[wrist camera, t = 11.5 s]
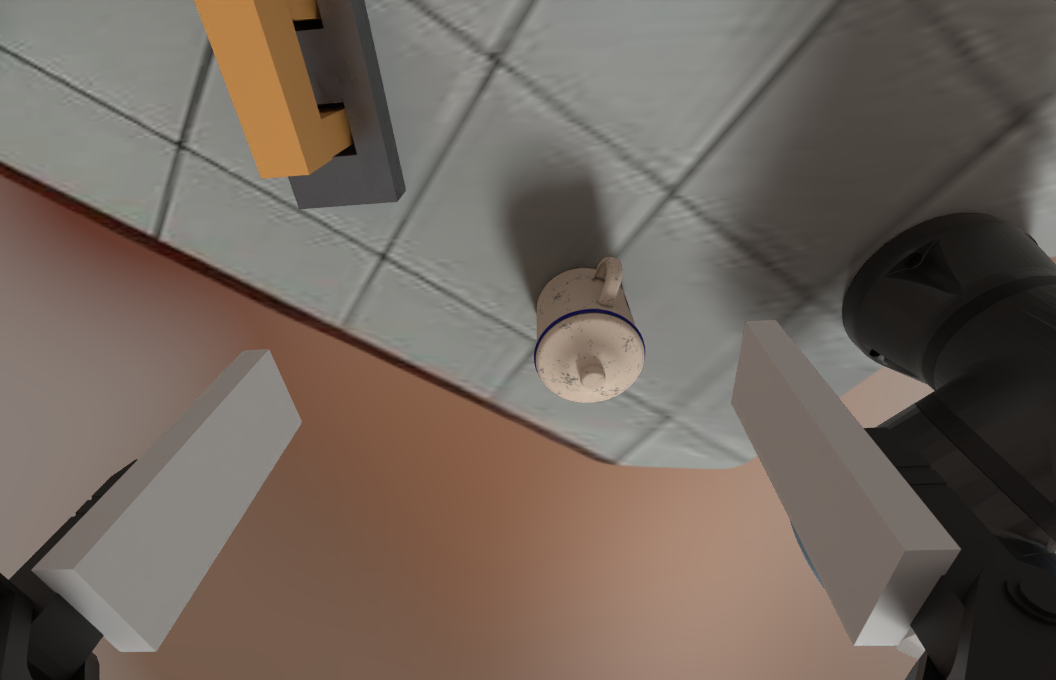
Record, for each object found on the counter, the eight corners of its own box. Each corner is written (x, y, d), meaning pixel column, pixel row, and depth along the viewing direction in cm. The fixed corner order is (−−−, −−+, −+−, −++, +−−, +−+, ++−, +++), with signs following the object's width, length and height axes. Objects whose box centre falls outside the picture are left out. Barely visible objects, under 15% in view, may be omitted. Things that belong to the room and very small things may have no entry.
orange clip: (363, 138, 38) (309, 174, 29) (326, 141, 38) (261, 178, 29) (322, -25, 32) (239, -44, 23) (279, -20, 33) (179, -38, 23)
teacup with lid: (609, 354, 49) (627, 434, 40) (523, 334, 48) (521, 412, 38) (655, 248, 43) (690, 314, 33) (558, 223, 42) (565, 283, 32)
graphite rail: (339, -114, 30) (321, -127, 27) (405, 190, 40) (397, 201, 38) (216, -100, 30) (187, -112, 28) (313, 197, 41) (299, 209, 38)
